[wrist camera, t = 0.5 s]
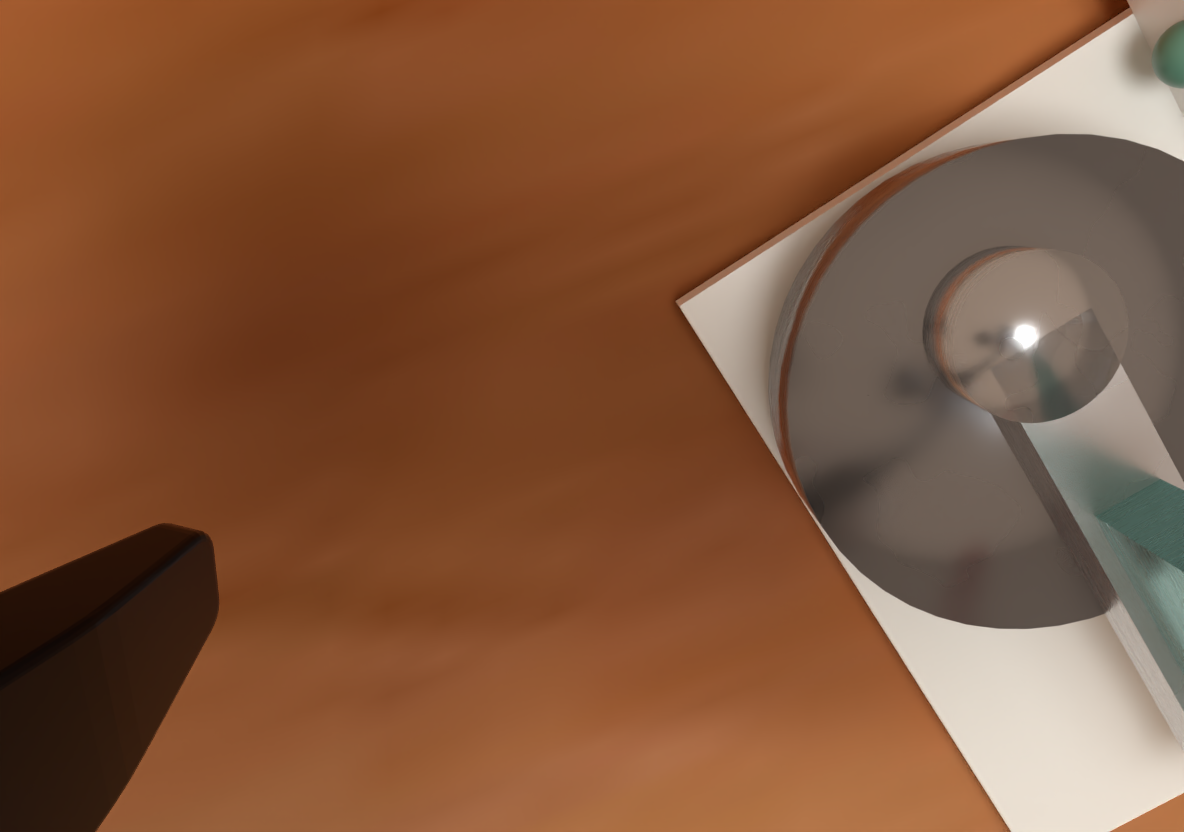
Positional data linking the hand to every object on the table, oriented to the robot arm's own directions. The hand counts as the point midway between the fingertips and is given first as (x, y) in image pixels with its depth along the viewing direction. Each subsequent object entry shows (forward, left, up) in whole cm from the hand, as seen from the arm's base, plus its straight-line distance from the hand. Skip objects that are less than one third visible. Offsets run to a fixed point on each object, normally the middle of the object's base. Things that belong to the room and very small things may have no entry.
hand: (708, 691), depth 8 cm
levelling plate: (0, -10, -13) cm, 16 cm away
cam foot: (-1, -9, -11) cm, 14 cm away
